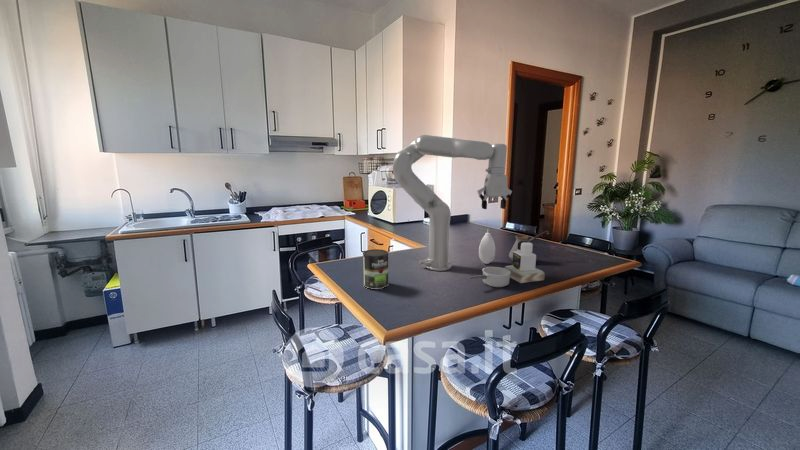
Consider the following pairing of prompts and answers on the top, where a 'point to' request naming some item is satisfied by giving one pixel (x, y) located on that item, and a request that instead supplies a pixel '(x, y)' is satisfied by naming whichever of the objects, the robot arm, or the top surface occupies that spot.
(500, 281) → the saucepan
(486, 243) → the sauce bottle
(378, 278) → the coffee can
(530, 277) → the plinth
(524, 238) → the coffee pot
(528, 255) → the medicine bottle
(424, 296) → the top surface
